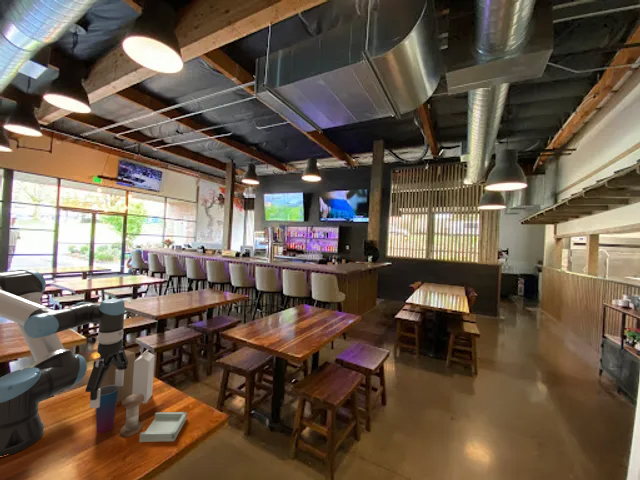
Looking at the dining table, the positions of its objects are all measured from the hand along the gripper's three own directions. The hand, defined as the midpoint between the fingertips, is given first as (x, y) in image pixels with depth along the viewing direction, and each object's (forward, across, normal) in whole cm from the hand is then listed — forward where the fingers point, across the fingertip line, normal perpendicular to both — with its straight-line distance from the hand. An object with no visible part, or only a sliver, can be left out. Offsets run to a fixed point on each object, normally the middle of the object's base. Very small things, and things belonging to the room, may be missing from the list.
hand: (107, 395), depth 101 cm
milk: (+13, +18, -4) cm, 23 cm away
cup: (+13, 0, 0) cm, 13 cm away
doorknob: (+13, -1, -10) cm, 16 cm away
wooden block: (+13, +19, +8) cm, 24 cm away
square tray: (+13, -1, -22) cm, 25 cm away
